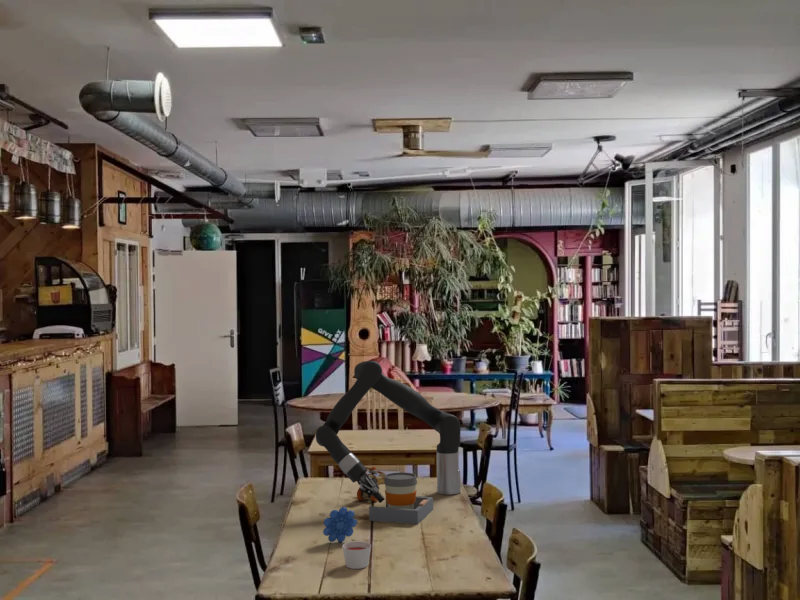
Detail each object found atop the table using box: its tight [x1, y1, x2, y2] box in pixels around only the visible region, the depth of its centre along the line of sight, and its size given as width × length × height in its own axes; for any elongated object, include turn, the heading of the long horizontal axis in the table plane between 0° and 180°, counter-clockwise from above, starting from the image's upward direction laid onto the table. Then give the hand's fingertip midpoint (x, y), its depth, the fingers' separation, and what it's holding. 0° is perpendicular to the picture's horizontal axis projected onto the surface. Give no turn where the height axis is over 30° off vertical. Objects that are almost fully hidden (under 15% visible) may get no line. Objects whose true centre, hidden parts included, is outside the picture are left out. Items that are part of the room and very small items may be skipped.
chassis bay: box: [368, 495, 434, 525], centre depth 313 cm, size 19×20×6 cm
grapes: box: [322, 506, 358, 543], centre depth 282 cm, size 12×7×12 cm, turn 98°
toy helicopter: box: [356, 466, 387, 503], centre depth 342 cm, size 8×21×14 cm, turn 159°
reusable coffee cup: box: [383, 472, 418, 509], centre depth 313 cm, size 13×13×15 cm
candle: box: [341, 540, 372, 570], centre depth 257 cm, size 9×9×6 cm
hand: (382, 500), depth 315 cm, fingers closed
